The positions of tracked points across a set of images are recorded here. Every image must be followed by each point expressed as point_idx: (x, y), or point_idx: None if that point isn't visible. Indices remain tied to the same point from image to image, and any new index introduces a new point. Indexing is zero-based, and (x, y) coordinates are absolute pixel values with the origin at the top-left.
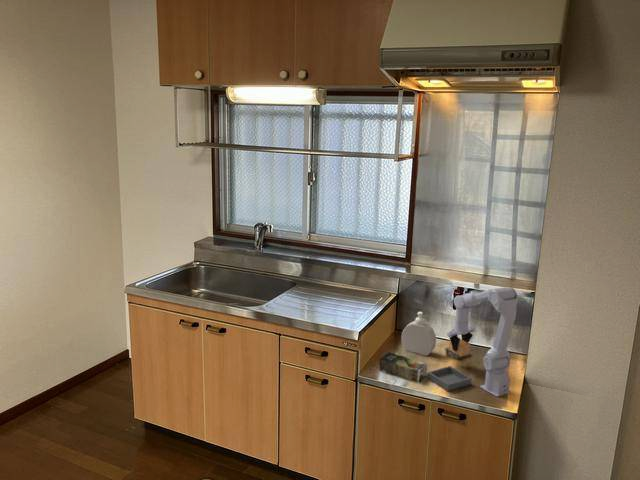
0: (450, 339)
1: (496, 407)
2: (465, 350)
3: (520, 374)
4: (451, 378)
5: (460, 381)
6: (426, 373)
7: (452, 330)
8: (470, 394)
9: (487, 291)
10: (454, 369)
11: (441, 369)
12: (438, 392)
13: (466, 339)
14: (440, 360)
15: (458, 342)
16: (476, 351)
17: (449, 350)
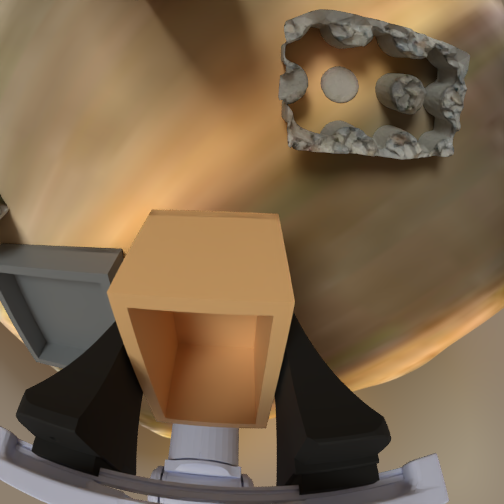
0: (63, 375)
1: (144, 425)
2: (208, 383)
3: (389, 376)
4: (88, 307)
5: None
6: (5, 212)
7: (51, 499)
8: None
9: None
10: (110, 312)
11: (45, 276)
12: None
13: (278, 427)
14: (176, 89)
15: (133, 423)
16: (492, 149)
17: (339, 42)
